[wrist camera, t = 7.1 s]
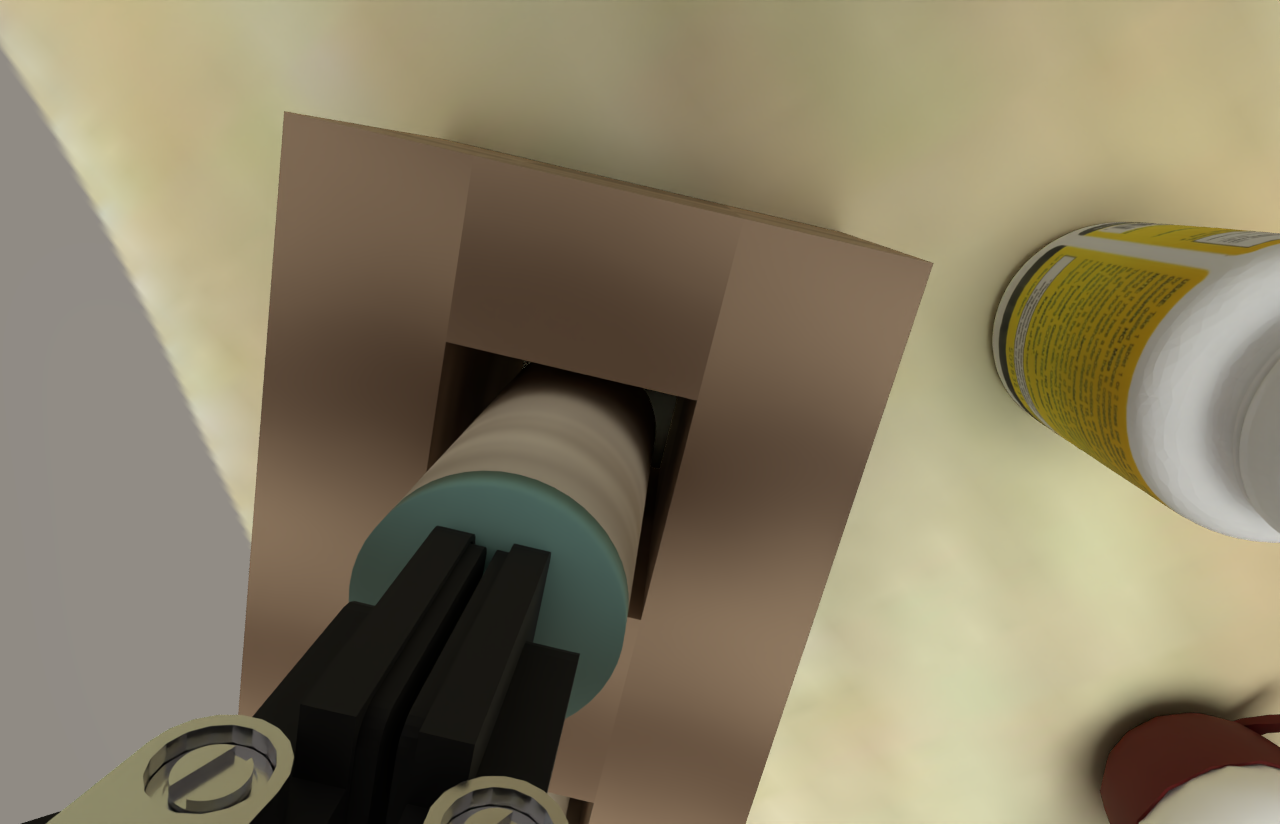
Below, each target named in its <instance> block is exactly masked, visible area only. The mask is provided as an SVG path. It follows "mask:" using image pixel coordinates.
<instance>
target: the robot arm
mask: <svg viewBox="0 0 1280 824" xmlns="http://www.w3.org/2000/svg"><path fill="white" fill-rule="evenodd" d="M475 538H476V537H475V534H472V533H468V532H464V531H459V530H455V529H451V528H447V527H442V526H436V527H435V528H434V529H433V530H432V531H431V533H430V534H429V535H428V537H427V538H426V539H425V541H424V542H423V543H422V545H421V546H420V547H419V549H418V550H417V551H416V553H415V554H414V555H413V556H412V558H411V559H410V560H409V562H408V563H407V564H406V566H405V567H404V568H403V570H402V571H401V572H400V574H399V575H398V576H397V578H396V579H395V580H394V581H393V583H392V584H391V585H390V587H389V588H388V589H387V591H386V592H385V593H384V595H383V596H382V597H381V599H380V600H379V601H378V602H377V604H376V605H375V606H374V605H370V604H366V603H361V602H357V601H351V602H349V603H348V604H347V605H345V606H344V607H343V608H342V610H341V611H340V612H339V613H338V614H337V616H336V617H335V618H334V619H333V620H332V622H331V623H330V624H329V625H328V626H327V628H326V629H325V630H324V631H323V632H322V634H321V635H320V636H319V637H318V638H317V640H316V641H315V642H314V643H313V644H312V646H311V647H310V648H309V649H308V650H307V652H306V653H305V654H304V655H303V656H302V658H301V659H300V660H299V661H298V662H297V664H296V665H295V666H294V667H293V668H292V670H291V671H290V672H289V673H288V674H287V676H286V677H285V678H284V679H283V680H282V682H281V683H280V684H279V685H278V686H277V688H276V689H275V690H274V691H273V692H272V694H271V695H270V696H269V697H268V698H267V700H266V701H265V702H264V703H263V704H262V706H261V707H260V708H259V709H258V710H257V712H256V713H255V714H254V715H253V716H252V717H249V716H244V715H215V716H210V717H204V718H199V719H194V720H191V721H188V722H186V723H183V724H180V725H178V726H175V727H172V728H170V729H168V730H167V731H165V732H163V733H162V734H160V735H159V736H157V737H156V738H154V739H152V740H151V741H149V742H148V743H146V744H145V745H144V746H143V747H141V748H140V749H139V750H138V751H137V752H135V753H134V754H133V755H131V756H130V757H129V758H128V759H126V760H125V761H124V762H123V763H121V764H120V765H119V766H118V767H116V768H115V769H114V770H113V771H111V772H110V773H109V774H107V775H106V776H105V777H104V778H102V779H101V780H100V781H99V782H98V783H96V784H95V785H94V786H92V787H91V788H90V789H89V790H87V791H86V792H85V793H84V794H82V795H81V796H80V797H79V798H77V799H76V800H75V801H74V802H72V803H71V804H70V805H69V806H67V807H66V808H65V809H64V810H62V811H60V812H57V813H53V814H50V815H47V816H44V817H41V818H38V819H34V820H32V821H28V822H25V823H22V824H569V823H568V820H567V819H566V817H565V815H564V813H563V811H562V810H561V808H560V806H559V805H558V804H557V803H556V802H555V801H554V800H553V799H552V798H551V797H550V796H549V795H548V794H547V793H548V789H549V784H550V780H551V776H552V772H553V768H554V764H555V759H556V755H557V751H558V747H559V742H560V738H561V734H562V730H563V725H564V721H565V717H566V713H567V708H568V704H569V700H570V695H571V691H572V687H573V683H574V678H575V674H576V670H577V665H578V661H579V657H580V653H576V652H571V651H567V650H563V649H558V648H554V647H550V646H546V645H541V644H537V643H533V640H534V635H535V631H536V626H537V621H538V616H539V612H540V607H541V602H542V597H543V592H544V588H545V583H546V578H547V573H548V569H549V564H550V558H551V552H549V551H545V550H541V549H536V548H532V547H528V546H524V545H519V544H513V546H512V548H511V550H510V552H505V551H501V550H497V551H496V552H495V554H494V556H493V558H492V560H491V561H490V563H489V565H488V567H487V569H486V571H485V573H484V574H483V571H484V566H485V560H486V554H487V548H486V547H484V546H479V545H475Z"/></svg>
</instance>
